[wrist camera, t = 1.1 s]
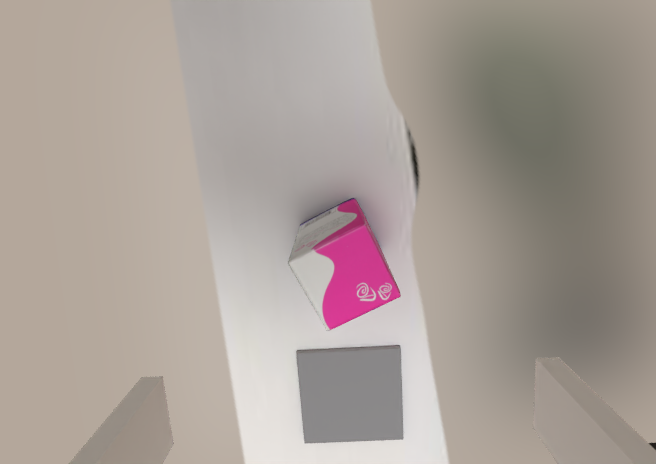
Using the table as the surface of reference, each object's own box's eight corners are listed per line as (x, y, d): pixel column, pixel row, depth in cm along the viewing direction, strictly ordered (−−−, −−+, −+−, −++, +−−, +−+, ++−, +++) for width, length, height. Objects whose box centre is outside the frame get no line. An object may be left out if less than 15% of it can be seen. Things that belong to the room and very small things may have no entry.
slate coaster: (297, 350, 40) (296, 353, 40) (399, 345, 40) (400, 348, 40) (305, 439, 43) (304, 443, 42) (402, 435, 42) (403, 439, 42)
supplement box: (328, 279, 39) (324, 334, 28) (298, 224, 38) (282, 259, 27) (383, 252, 38) (403, 298, 27) (355, 195, 37) (363, 218, 26)
